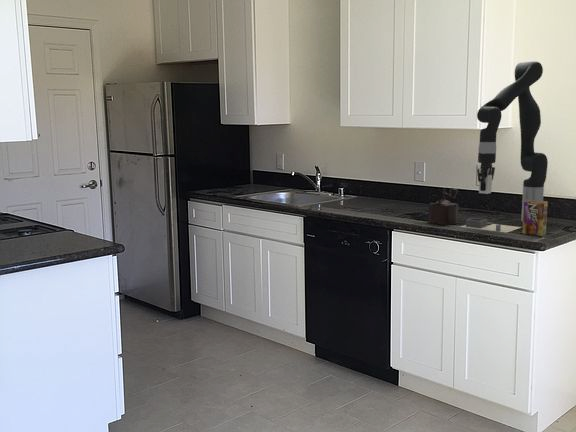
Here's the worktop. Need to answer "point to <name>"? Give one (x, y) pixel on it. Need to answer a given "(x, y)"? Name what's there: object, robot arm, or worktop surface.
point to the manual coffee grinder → (444, 210)
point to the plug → (487, 185)
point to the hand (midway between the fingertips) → (485, 190)
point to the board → (488, 225)
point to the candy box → (535, 217)
